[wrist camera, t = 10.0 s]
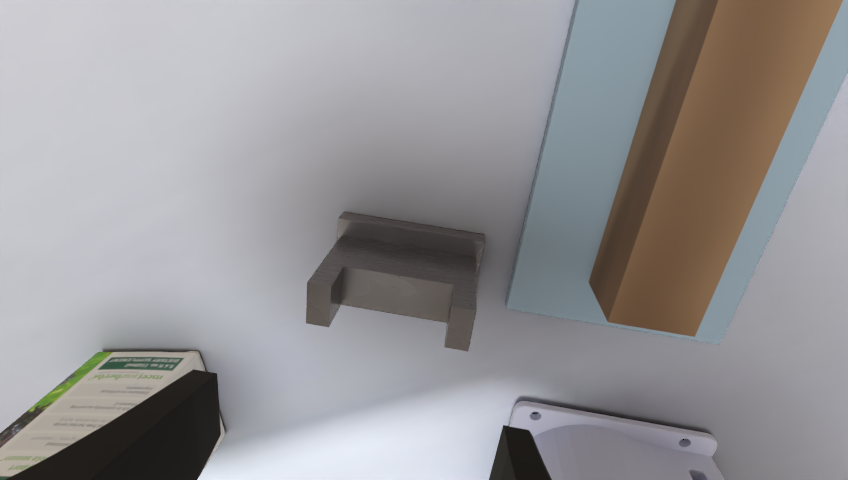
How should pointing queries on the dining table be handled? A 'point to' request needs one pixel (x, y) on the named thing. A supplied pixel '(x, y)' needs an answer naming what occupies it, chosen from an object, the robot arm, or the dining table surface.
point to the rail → (703, 153)
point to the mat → (607, 153)
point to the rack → (399, 274)
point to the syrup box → (91, 403)
